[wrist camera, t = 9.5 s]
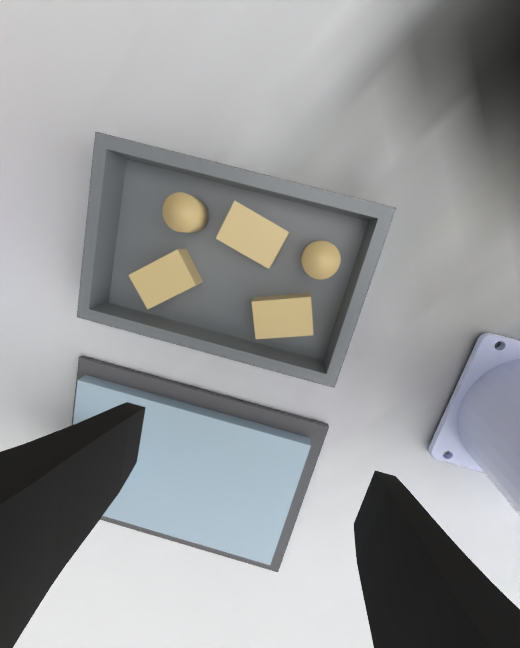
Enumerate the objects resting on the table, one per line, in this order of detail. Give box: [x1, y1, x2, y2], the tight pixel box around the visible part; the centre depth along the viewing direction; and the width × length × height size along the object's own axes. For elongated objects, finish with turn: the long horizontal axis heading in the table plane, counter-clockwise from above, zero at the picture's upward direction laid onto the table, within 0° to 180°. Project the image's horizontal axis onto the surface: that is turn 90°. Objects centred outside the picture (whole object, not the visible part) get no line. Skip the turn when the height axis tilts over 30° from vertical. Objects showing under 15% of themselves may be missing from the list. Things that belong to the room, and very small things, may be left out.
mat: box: [72, 356, 329, 572], centre depth 22 cm, size 16×12×1 cm
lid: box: [73, 375, 311, 565], centre depth 19 cm, size 15×10×5 cm, turn 76°
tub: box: [77, 132, 396, 387], centre depth 17 cm, size 14×9×2 cm, turn 76°
